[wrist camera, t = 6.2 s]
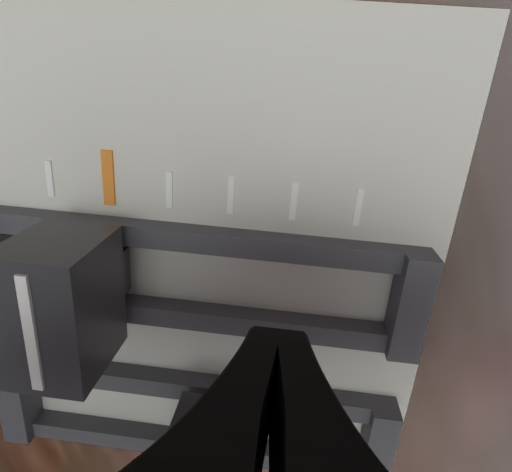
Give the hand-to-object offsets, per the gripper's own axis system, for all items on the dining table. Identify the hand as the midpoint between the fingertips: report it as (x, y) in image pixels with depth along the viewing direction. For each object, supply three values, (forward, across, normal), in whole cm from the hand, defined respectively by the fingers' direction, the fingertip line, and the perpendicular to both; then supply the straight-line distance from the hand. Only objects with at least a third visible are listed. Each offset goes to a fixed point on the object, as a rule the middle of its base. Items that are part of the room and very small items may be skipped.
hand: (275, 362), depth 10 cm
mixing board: (+5, +3, 0) cm, 6 cm away
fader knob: (+4, +6, 0) cm, 7 cm away
